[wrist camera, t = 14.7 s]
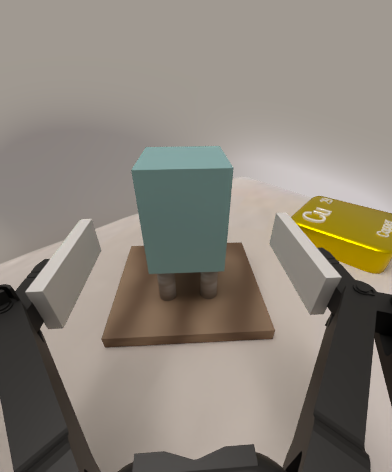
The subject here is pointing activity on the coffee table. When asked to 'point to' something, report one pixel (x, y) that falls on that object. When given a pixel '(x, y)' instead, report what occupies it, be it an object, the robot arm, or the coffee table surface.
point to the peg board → (187, 304)
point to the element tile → (348, 232)
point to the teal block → (183, 207)
